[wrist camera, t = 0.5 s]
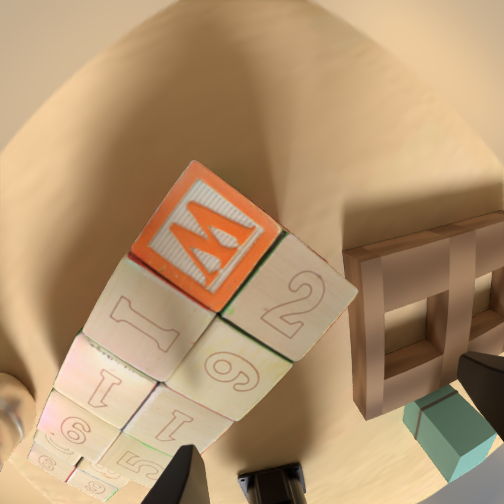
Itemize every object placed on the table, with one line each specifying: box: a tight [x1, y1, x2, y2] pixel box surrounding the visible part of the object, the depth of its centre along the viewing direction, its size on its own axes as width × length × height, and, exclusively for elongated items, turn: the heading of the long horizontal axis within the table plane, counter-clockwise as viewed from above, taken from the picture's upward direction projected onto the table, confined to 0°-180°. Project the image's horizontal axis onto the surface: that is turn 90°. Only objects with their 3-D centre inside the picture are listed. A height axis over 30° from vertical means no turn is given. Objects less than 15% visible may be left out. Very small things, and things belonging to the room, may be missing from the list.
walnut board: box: [342, 210, 504, 421], centre depth 22 cm, size 14×18×3 cm
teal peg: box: [403, 384, 497, 483], centre depth 22 cm, size 4×4×10 cm
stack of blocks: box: [27, 160, 358, 502], centre depth 15 cm, size 21×6×12 cm, turn 141°
